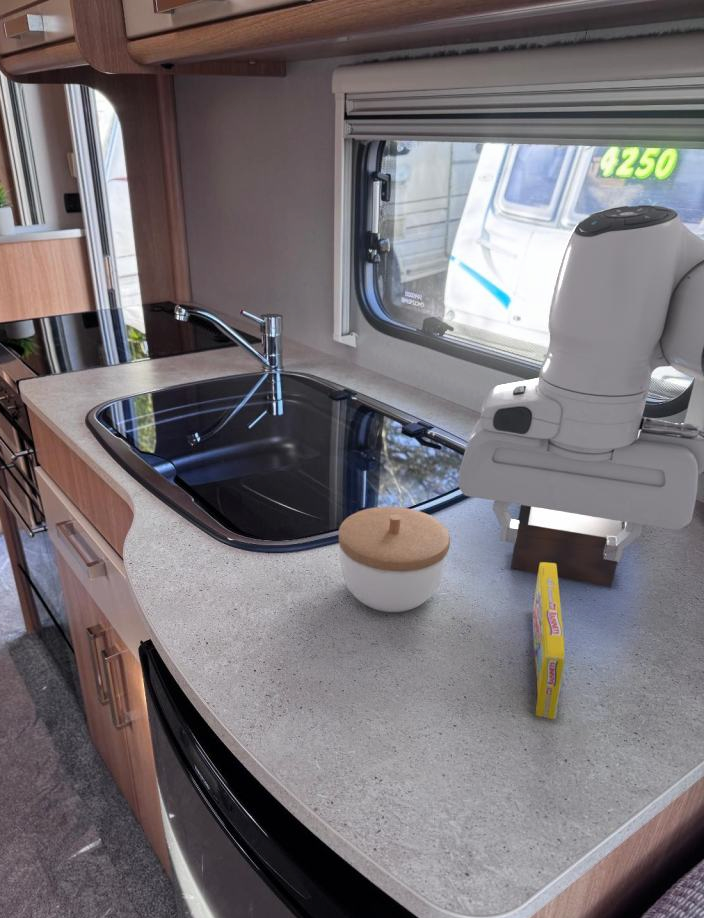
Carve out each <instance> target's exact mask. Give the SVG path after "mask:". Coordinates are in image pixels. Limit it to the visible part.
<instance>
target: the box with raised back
mask: <svg viewBox="0 0 704 918" xmlns="http://www.w3.org/2000/svg"><path fill="white" fill-rule="evenodd" d="M518 520H519V527H518V533H517V539H516V543H513V550H512V557H511V562H510V567H509V568H510V570H515V571H520V572H525V573H532V574H536V575H538V570H539V565H540V562H546V563H555V564H556V565H557V574H558V579H563V580H569V581H575V582H580V583H585V584H590V585H595V586H601V587H607V588H612V587H613V583H614V578H615V576H616V575H615V574H616V571H617V567H618V563H619V562H617V561H612V560H606V559H603V556H604V555H603V552H604V547H605V545H606V538H607V536H614V537H616V536H617V535H618V534H619V533H620V532H621V531H622V530H623V529H624V528H623V521H617V520H611V519H604V518H598V517H592V516H586V515H580V514H574V513H568V512H562V511H555V510H549V509H543V508H537V507H531V506H525V505H520V507H519V514H518Z"/></svg>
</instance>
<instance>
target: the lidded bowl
mask: <svg viewBox="0 0 704 918" xmlns="http://www.w3.org/2000/svg"><path fill="white" fill-rule="evenodd" d="M450 536H451V535H450V532H449V530H448V528H447V527H446V526H445V525H444V524H443V523H442V522H441V520H439V519H437V518H435V517H434V516H433V515H430V514H428V513H425V512H424V511H423V512H422V511H420V510H417V509H412V508H407V507H403V506H402V507H401V506H377V507H370V508H365V509H363V510H359V511H357V512H355V513H352V514H351V515H349V516H347V517H346V518H345V519H344V520H343V521H342V522H341V524H340V525H339V528H338V545H339V563H340V570H341V574H342V578H343V581H344V583H345V585H346V587H347V589H348V591H350V593H351V594H352V595H353V596H354V597H355V599H357V600H358V601H359V602H360V603H361V604H363V605H365V606H366V607H368V608H370V609H373V610H376V611H379V612H384V613H402V612H407V611H410V610H411V611H412V610H413V609H415V608H417V607H420V606H421V605H422V604H424V603H425V602H427V601H428V600H429V599H430V598H431V597H432V596H433V595H434V594H435V592H436V590H437V589H438V587H439V585H440V584H441V581H442V578H443V576H444V572H445V570H446V566H447V565H446V564H447V558H448V552H449V549H450V546H451V545H450V543H451V537H450Z"/></svg>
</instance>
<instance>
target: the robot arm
mask: <svg viewBox="0 0 704 918" xmlns="http://www.w3.org/2000/svg"><path fill="white" fill-rule="evenodd" d="M558 266H559V267H558V269H557V273H556V277H555V281H554V286H553V291H552V292H553V293H552V296H551V302H550V308H549V314H548V317H547V318H548V320H547V327H548V335H549V342H548V348H547V351H546V355H545V357H544V359H543V361H542V363H541V365H540V368H539V374H538V377H537V378H532V379H527V380H523V381H516V382H510V383H505V384H499V385H496V386H493V387H492V388H491V389H490V390H489V391H488V393H487V394H486V396H485V398H484V399H483V402H482V404H481V407H480V409H481V410H480V418H479V419H478V420H477V422H476V424H475V425H474V427H473V429H472V432H471V434H470V436H469V437H468V440H467V444H466V446H465V450H464V453H463V456H462V459H461V463H460V467H459V472H458V473H459V474H458V478H457V486H458V488H459V490H460V491H461V493H462V494H463V495H464V496H466V497H470V498H476V499H481V500H488V501H493V508H492V511H493V513H494V515H495V517H496V519H497V521H498V523H499V526H500V527H501V532H500V538H499V539H500V541H499V542H504V543H510V544H514V543H516V539H517V533H518V527H519V520H517V519H512V517H511V514H510V512H509V507H510V504H511V505H519V506H521V505H525V506H531V507H537V508H543V509H549V510H555V511H562V512H568V513H574V514H580V515H586V516H592V517H598V518H604V519H611V520H617V521H622V523H623V522H624V528H622V529H623V530H622V531H621V532H620V533H619V534H618V535H617V536H616V537H614V536H607V538H606V545H605V547H604V552H603V555H604V556H603V559H606V560H612V561H617V562H618V563H619V562H620V563H621V560H622V557H623V552H624V550H625V549H626V548H627V547H628V546H629V545H630V544H632V543H633V542H634V541H635V540H636V539H637V538H639V537H640V536H641V535H642V532H643V528H644V526H649V527H654V528H659V529H660V528H661V529H667V530H672V531H678V530H680V529H683V528H684V527H685V526H687V525H688V524H690V523H691V522H692V519H693V515H694V511H695V506H696V500H697V493H698V485H699V483H698V482H699V481H698V480H699V475H701V474H702V473H704V431H703V430H701V429H700V426H699V425H696V424H693V423H688V422H687V423H683V422H682V423H676V422H671V421H665V420H661V419H655V418H649V417H648V418H647V417H643V415H644V412H645V409H646V403H647V399H648V395H649V392H650V391H649V390H650V387H651V382H652V374H653V372H654V371H655V370H656V369H658V368H663V367H671V368H673V369H674V370H675V371H677V372H679V373H681V374H684V375H685V376H688V377H690V378H692V379H694V380H696V381H699V382H701V383H702V384H704V239H703V238H701V237H700V236H698V235H696V234H695V232H693V231H691V230H690V229H689V228H688V227H687V226H686V225H685V224H684V223H683V222H682V221H681V217H680V215H679V213H678V212H677V211H675V210H673V209H671V208H668V207H665V206H660V205H651V204H650V205H649V204H648V205H647V204H640V205H633V206H632V205H631V206H629V205H624V206H623V205H622V206H617V207H612V208H611V207H610V208H606V209H603V210H599V211H597V212H593V213H592V214H591V213H590V214H589V215H588V216H587V217H585V218H583V219H582V220H580V221H579V222H578V223H577V224H576V226H575V227H574V228H573V230H572V232H571V233H570V235H569V238H568V239H567V241H566V244H565V246H564V249H563V251H562V255H561V258H560V262H559V265H558Z"/></svg>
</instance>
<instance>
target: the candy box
mask: <svg viewBox="0 0 704 918" xmlns="http://www.w3.org/2000/svg"><path fill="white" fill-rule="evenodd" d="M560 595H561V594H560V587H559V578H558V574H557V565H556V564H555V563H546V562H540V565H539V570H538V574H537V579H536V586H535V593H534V601H533V608H532V615H531V616H532V639H533V640H532V641H533V671H534V672H533V673H534V687H535V688H534V690H535V691H534V692H535V716H536V717H540V718H545V719H550V720H554V719H556V717H557V710H558V707H559V706H558V705H559V700H560V699H559V698H560V692H561V687H562V681H563V675H564V669H565V663H566V657H565V635H564V628H563V619H562V618H563V616H562V607H561V605H562V604H561V596H560Z"/></svg>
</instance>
